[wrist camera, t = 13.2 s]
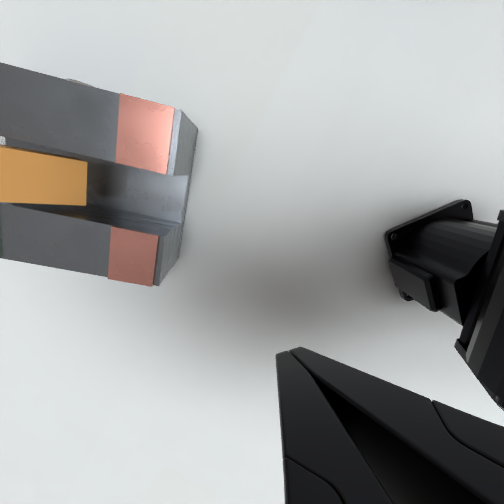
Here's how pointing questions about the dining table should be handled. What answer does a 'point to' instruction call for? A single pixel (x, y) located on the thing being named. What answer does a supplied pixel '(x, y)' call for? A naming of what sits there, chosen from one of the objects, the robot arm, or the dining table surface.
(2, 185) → the breaker handle
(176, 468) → the dining table surface
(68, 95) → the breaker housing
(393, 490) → the robot arm
